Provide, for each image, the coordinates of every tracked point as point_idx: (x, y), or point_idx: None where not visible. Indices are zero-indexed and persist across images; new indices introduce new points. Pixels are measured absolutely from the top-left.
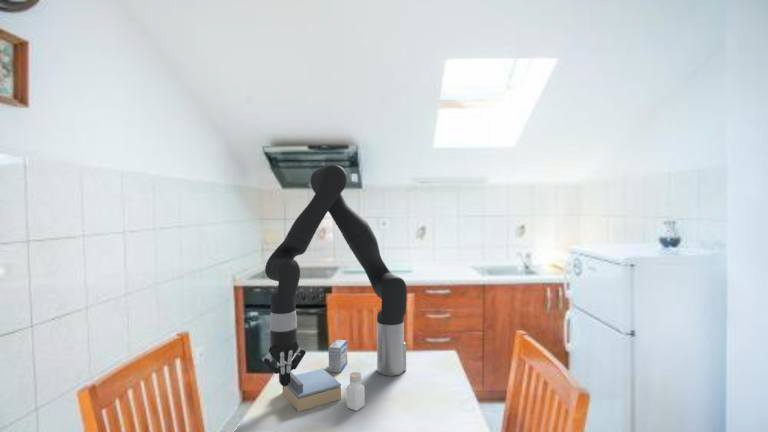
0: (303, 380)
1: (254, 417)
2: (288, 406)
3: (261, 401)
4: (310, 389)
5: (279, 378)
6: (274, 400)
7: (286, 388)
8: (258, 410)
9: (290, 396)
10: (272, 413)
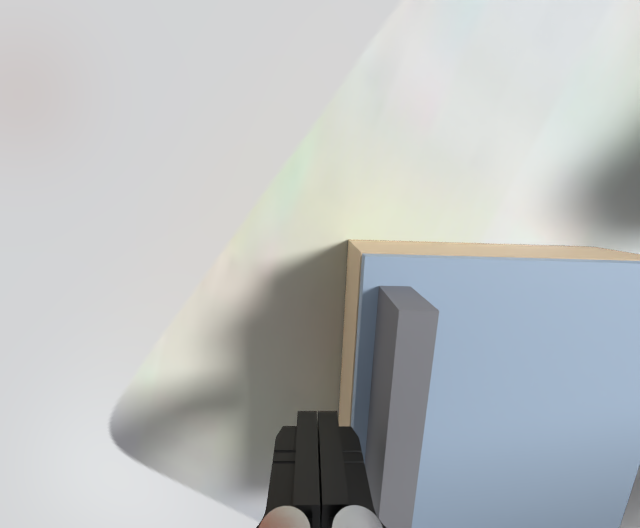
0: (474, 375)
1: (142, 399)
2: (316, 390)
3: (211, 268)
4: (441, 507)
5: (272, 474)
6: (277, 297)
7: (352, 324)
8: (174, 350)
9: (345, 378)
10: (228, 409)
